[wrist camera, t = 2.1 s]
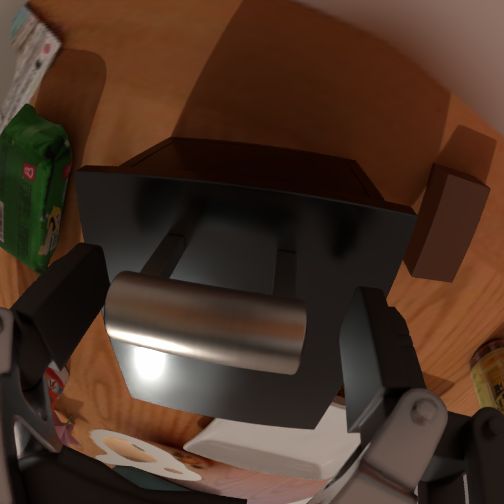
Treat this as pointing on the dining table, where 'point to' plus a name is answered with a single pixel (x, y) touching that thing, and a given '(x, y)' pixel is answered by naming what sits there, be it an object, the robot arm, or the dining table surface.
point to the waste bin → (258, 164)
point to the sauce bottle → (489, 374)
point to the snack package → (32, 186)
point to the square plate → (280, 445)
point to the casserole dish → (146, 479)
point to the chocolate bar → (445, 224)
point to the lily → (64, 430)
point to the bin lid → (234, 286)
